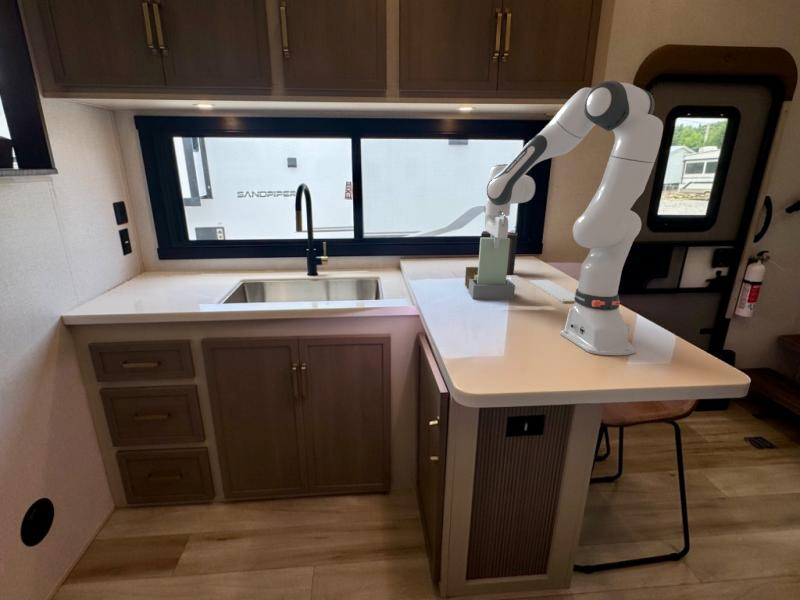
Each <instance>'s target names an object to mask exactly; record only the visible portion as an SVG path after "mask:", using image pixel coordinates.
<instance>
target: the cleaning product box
mask: <svg viewBox="0 0 800 600" xmlns="http://www.w3.org/2000/svg"><path fill="white" fill-rule="evenodd" d="M518 234H519V233H518V232H509V231H508V236H507V238H510V245H509V255H508V265H507V276H514V272H515V263H516V253H517V252H516V251H517V243H518ZM480 238H491V234H490V233H488V232H487V231H486V230H483V231H482V232H481V237H480Z"/></svg>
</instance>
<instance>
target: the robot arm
mask: <svg viewBox="0 0 800 600" xmlns="http://www.w3.org/2000/svg"><path fill="white" fill-rule="evenodd" d="M654 111H655V100H654V97H653V95H652V94H651V92H649V91H648V90H646V89H644V88H643V87H642V88H641V87H638V86H636V85H634V84H632V83H628V82H623V81H622V82H621V81H616V80H608V81H603V82H600V83H598V84H596V85H595V86H593V87H583V88H580V89H579V90H577V91H576V93H574V94H573V95H572V96H571V97H570V98H569V99H568V100H567V101H566V102H565V103H564V105H563V106H562V107H560V109H559V110H558V111H557V113H556V114H555V115H554V117H552V119H551V120H550V121H549V122H548V123H547V124H546V125H545V126H544V128H542V130H540V132H539V133H537V134H536V135H535V136H534V137H533V138H531V139H530V140H529V141H528V142H527V143H526V144H525V145H524V146H523V147H522V148H521V149H520V151H519V152H518V153H517V154H516V155H515V156H514V157H513V158H512V159H511V160H510V161H509V162H508V164H507V163H506V164H505V163H504V164H496V165H494V166H493V167H491V168H490V170H489V174H488V177H487V186H486V194H487V198H486V202H485V206H484V209H483V213H485V214H484V231H487V232H488V233H490V234H491V238H494V243H493V247H494V248H498V247H499V242H500V239H507V236H508V232H509V219H508V216H510V211H511V204H522V203H523V204H524V203H528V202H529V201H531V200H532V199H533V197H534V195H535V193H536V182H535V180H534V178H533V177H531V175H527V173H528V172H529V171H531V169H532V168H533V167H534V166H535V165H537V164H538V163H541V162H542V161H545V160H548V159H552V158H554V157H555V158H556V157H560V156H563V155H566V154H568V153H570V152H571V151H573V149H575V148H576V147H577V146H578V145H579V144H580V143H581V142H582V141H583V139H584V138H585V137H586V136H587V135H588V134H589V132H591V130H592V129H593V128H594V127H595V126H598V127H600V128H602V130H605V131H607V132H610V131H612V132H613V134H614V143H613V146H612V149H611V151H610V156H609V158H608V160H607V163H606V167H605V170H604V173H603V176H602V179H601V180H600V184H599V186H598V188H597V189H596V192H595V194H594V195H593V197H592V198H591V200H590V202H589V204H588V206H587V208H586V209H585V211H583V212H582V214H581V215H580V216H579V217H578V218H576V220H575V222H574V224H573V226H572V236H573V239H574V241H575V242H576V243H577V244H578V245H579V246H580V247H582V248H587V249H590V250H589V252H588V254H587V255H586V257H585V259H584V261H583V262H582V264H581V266H580V271H579V272H580V273H579V279H578V285H577V288H576V289H575V293H574V294H575V303H573V305H572V306H571V307H570V308H569V310H568V313H567V317H566V322H565V326H564V328H563V329H561V330H560V333H559V334H560V335H561V336H563V338H565V339H568V341H571V342H572V343H573V344H574V345H577V346H578V347H579V348H581V349H583V350H584V351H586V352H587V353H590V354H593V355H599V356H600V355H601V356H628V355H632V354H636V352H637V351H636V348H635V347H634V346H633V345H632V344H631V342H630V341H629V331H630V330H631V329H630V324H629V323H625V321H624V318H623V316H622V314H621V311H620V309H619V308H620V306H621V304H620V303H621V300H620V297H619V293H618V292H619V286H620V282H621V276H622V271H623V268H624V265H625V263H626V260H627V257H628V256H629V252H630V250H631V247H632V245H633V242H634V241H635V239H636V238H637V236H638V235H639V234H640V231H641V229H642V220H641V217H640V216H639V215H638V213H636V212H635V211H633V210H631V209H632V208H633V206H634V204H635V203H636V201H637V200H638V199H639V197H640V196H641V195H642V194H643V193H644V191H645V189H646V186H647V183H648V181H649V179H650V176H651V173H652V170H653V168H654V165H655V162H656V159H657V156H658V153H659V149H660V146H661V142H662V141H661V140H662V137H663V131H664V124H663V121H662V120H661V119H660V118H659V117H657V116H655V115H653V114H654Z"/></svg>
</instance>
